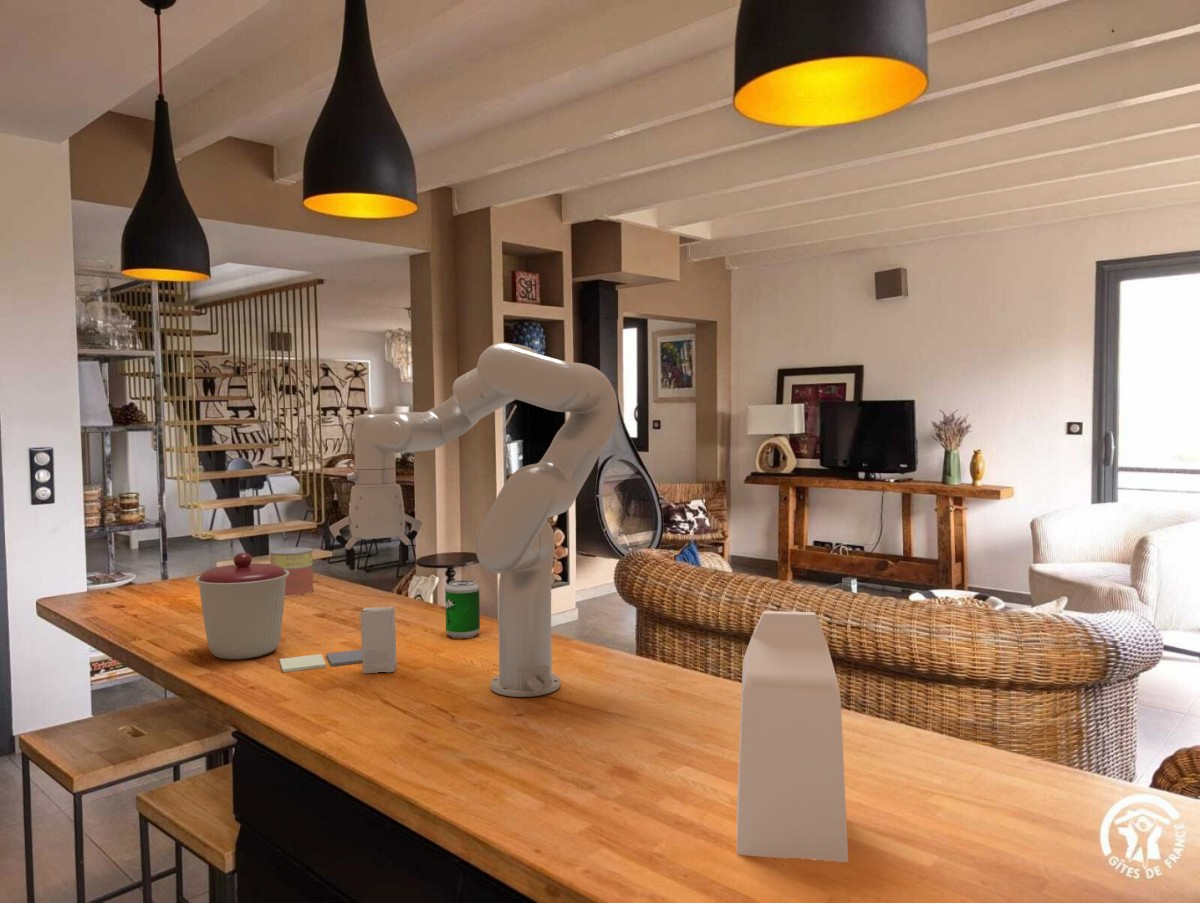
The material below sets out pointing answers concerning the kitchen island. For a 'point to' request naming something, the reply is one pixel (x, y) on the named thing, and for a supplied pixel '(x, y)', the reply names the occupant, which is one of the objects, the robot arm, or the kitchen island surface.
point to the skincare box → (378, 639)
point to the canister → (243, 607)
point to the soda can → (462, 609)
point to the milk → (790, 744)
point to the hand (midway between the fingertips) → (377, 567)
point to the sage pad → (302, 663)
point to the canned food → (295, 568)
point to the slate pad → (344, 657)
